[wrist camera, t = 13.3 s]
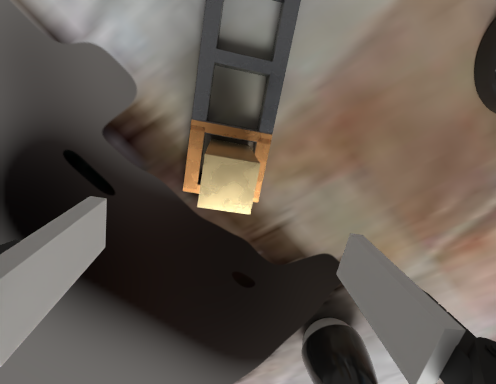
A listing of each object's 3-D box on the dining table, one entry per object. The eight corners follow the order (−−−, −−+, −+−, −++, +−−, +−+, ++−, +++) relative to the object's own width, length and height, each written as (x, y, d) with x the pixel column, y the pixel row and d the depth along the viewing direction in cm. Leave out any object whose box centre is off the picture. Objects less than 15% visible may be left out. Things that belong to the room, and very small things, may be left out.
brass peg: (248, 145, 34) (260, 163, 23) (241, 180, 36) (250, 214, 24) (211, 138, 34) (204, 154, 22) (206, 175, 35) (197, 206, 24)
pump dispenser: (286, 347, 46) (314, 455, 32) (310, 301, 43) (352, 397, 29) (335, 357, 48) (383, 464, 34) (361, 315, 45) (424, 411, 31)
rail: (298, -6, 30) (304, -15, 27) (256, 197, 37) (257, 202, 35) (211, -30, 28) (210, -41, 26) (185, 186, 35) (182, 191, 33)
